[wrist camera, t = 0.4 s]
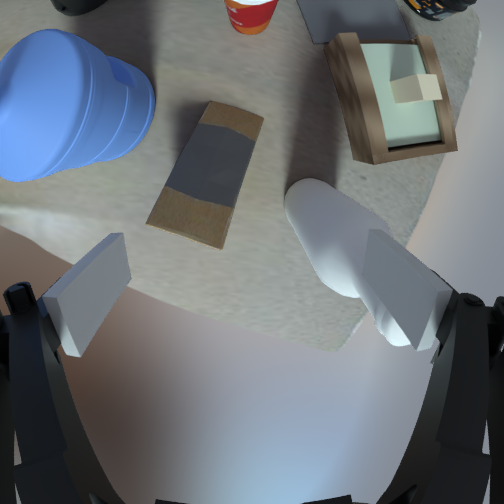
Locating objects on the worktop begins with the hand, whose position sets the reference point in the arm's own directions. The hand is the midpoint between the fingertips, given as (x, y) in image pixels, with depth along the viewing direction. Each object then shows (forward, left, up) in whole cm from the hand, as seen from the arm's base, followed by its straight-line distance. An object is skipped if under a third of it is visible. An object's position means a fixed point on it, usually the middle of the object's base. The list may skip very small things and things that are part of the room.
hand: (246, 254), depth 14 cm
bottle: (+6, +8, -28) cm, 30 cm away
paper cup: (-24, +7, -28) cm, 38 cm away
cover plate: (-8, +24, -23) cm, 34 cm away
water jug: (-17, -17, -28) cm, 37 cm away
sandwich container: (-4, -3, -28) cm, 29 cm away
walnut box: (-8, +24, -28) cm, 38 cm away
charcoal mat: (-27, +24, -28) cm, 46 cm away
